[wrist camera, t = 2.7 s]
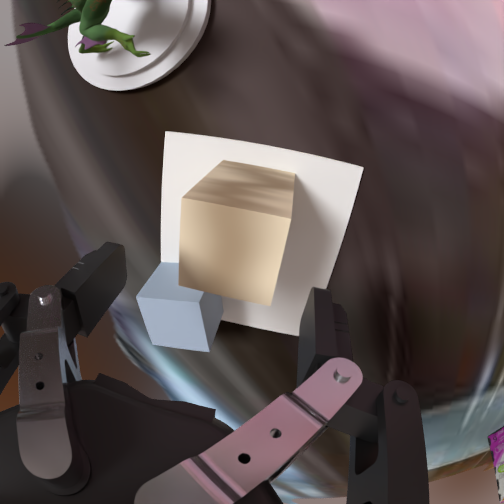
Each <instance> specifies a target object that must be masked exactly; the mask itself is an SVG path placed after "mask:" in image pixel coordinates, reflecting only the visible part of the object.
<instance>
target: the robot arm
mask: <svg viewBox="0 0 504 504" xmlns="http://www.w3.org/2000/svg"><path fill="white" fill-rule="evenodd" d="M126 280H127V270H126V258H125V248H124V246H123V245H120V244H116V243H111V242H106V243H105V244H104V245H103V246H101V247H100V248H99V249H98V250H95V251H93V252H91V253H89V254H87V255H85V256H84V257H83V258H82V259H81V260H80V261H79V263H77V264H76V265H75V266H74V267H73V268H72V269H71V270H69V271H68V272H67V274H65V276H63V277H62V278H61V279H60V280H59V281H58V282H57V284H55V286H52V285H45V286H42V287H39V288H37V289H36V290H34V291H33V292H32V293H31V295H30V294H18V292H17V289H16V286H15V285H14V284H13V283H11V282H3V283H0V326H1V325H2V327H3V330H4V332H5V333H4V335H3V336H2V337H1V338H0V394H1V393H2V391H3V389H4V388H5V386H6V384H7V383H8V381H9V379H10V378H11V376H12V375H13V373H14V371H15V370H16V369H17V367H18V365H19V403H20V404H19V405H16V406H14V407H11V408H9V409H6V410H4V411H2V412H0V504H283V502H282V501H281V499H280V498H279V496H278V495H277V493H276V492H275V490H274V489H273V487H272V486H271V484H270V483H272V482H273V481H274V480H275V479H276V478H277V477H278V476H280V475H281V474H282V473H283V472H284V471H285V470H286V469H287V468H288V467H289V466H290V465H291V464H292V463H293V462H294V461H295V460H296V459H297V458H298V457H299V456H300V455H301V454H302V453H303V452H304V451H305V450H306V449H307V448H308V447H309V446H310V445H311V444H312V443H313V442H314V441H315V440H316V439H317V438H318V437H319V436H320V435H321V434H322V433H323V432H324V431H325V430H326V429H327V428H328V427H331V428H333V429H336V430H338V431H341V432H343V433H346V434H349V435H350V458H349V476H348V491H347V503H346V504H429V484H428V469H427V458H426V448H425V440H424V432H423V425H422V418H421V411H420V405H419V399H418V395H417V393H416V391H415V389H414V388H413V387H412V386H411V385H409V384H408V383H406V382H404V381H400V380H393V381H390V382H389V383H387V384H386V386H385V387H384V386H382V385H379V384H377V383H374V382H371V381H369V380H367V379H365V378H364V377H363V376H362V372H361V370H360V368H359V367H358V366H357V365H356V364H355V363H354V362H353V357H352V349H351V341H350V334H349V327H348V320H347V314H346V312H345V311H344V309H343V308H342V306H341V305H340V304H334V303H332V297H331V291H330V290H327V289H322V288H317V287H312V288H311V290H310V293H309V296H308V299H307V302H306V305H305V308H304V311H303V314H302V317H301V321H300V327H299V350H298V372H297V389H296V390H295V391H293V392H292V393H289V392H286V393H284V394H282V395H281V396H280V397H278V398H277V399H276V400H275V401H273V402H272V403H271V404H270V405H268V406H267V407H266V408H264V409H263V410H262V411H261V412H259V413H258V414H257V415H255V416H254V417H253V418H251V419H250V420H249V421H247V422H246V423H245V424H243V425H242V426H241V427H239V428H238V429H236V430H235V431H234V430H233V429H232V428H231V427H229V426H228V425H227V424H225V423H224V422H222V421H220V420H218V419H216V418H215V410H216V409H212V408H208V407H203V406H199V405H196V404H192V403H188V402H184V401H167V400H156V399H151V398H148V397H147V396H145V395H143V394H142V393H140V392H139V391H137V390H136V389H134V388H132V387H130V386H129V385H128V384H126V383H124V382H122V381H119V380H116V379H114V378H111V377H109V376H106V375H104V374H101V373H99V375H98V376H97V378H96V380H82V379H81V375H80V369H79V363H78V355H77V347H76V341H75V337H76V335H77V334H80V335H82V336H85V337H88V336H89V334H90V333H91V331H92V330H93V329H94V327H95V326H96V324H97V323H98V322H99V320H100V319H101V317H102V316H103V315H104V313H105V312H106V311H107V309H108V308H109V307H110V305H111V304H112V303H113V301H114V300H115V299H116V297H117V296H118V295H119V293H120V292H121V291H122V289H123V288H124V286H125V284H126Z"/></svg>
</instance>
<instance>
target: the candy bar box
mask: <svg viewBox="0 0 504 504" xmlns="http://www.w3.org/2000/svg"><path fill="white" fill-rule="evenodd" d="M488 441H489V445H490V450H491V454H492V459H493V464H494V468H495V474H496V480H497V486H498V493H499V501H500V503H502V502H504V427H503V428H501V429H500V430H498V431H496V432H495V433H493V434H491V435H490V436H488Z"/></svg>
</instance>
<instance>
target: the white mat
mask: <svg viewBox="0 0 504 504" xmlns="http://www.w3.org/2000/svg"><path fill="white" fill-rule="evenodd" d="M223 160H227V161H233V162H239V163H245V164H251V165H256V166H261V167H267V168H272V169H277V170H282V171H287V172H292V173H295V181H294V193H293V205H292V216H291V222H290V227H289V231H288V235H287V240H286V244H285V248H284V253H283V257H282V261H281V265H280V269H279V273H278V278H277V282H276V286H275V290H274V294H273V298H272V302H271V306H266V305H262V304H257V303H252V302H248V301H243V300H238V299H234V298H229V297H225V296H221V297H222V304H223V311H224V312H223V315H222V318H221V320H224V321H228V322H233V323H237V324H242V325H246V326H251V327H256V328H260V329H265V330H270V331H275V332H280V333H285V334H291V335H296V336H299V327H300V321H301V317H302V314H303V311H304V308H305V305H306V302H307V299H308V296H309V293H310V290H311V288H312V287H317V288H322V289H326V287H327V285H328V282H329V279H330V276H331V273H332V270H333V267H334V264H335V261H336V258H337V255H338V252H339V249H340V246H341V243H342V240H343V237H344V234H345V231H346V227H347V224H348V221H349V218H350V214H351V211H352V208H353V204H354V201H355V197H356V194H357V190H358V187H359V183H360V179H361V176H362V172H363V167H361V166H357V165H353V164H349V163H345V162H342V161H338V160H333V159H329V158H325V157H321V156H317V155H312V154H308V153H303V152H298V151H294V150H289V149H284V148H279V147H274V146H268V145H263V144H257V143H251V142H245V141H239V140H233V139H226V138H219V137H212V136H204V135H196V134H188V133H179V132H169V131H166V132H165V144H164V159H163V177H162V203H161V262H171V263H179V240H180V217H181V199H182V197H183V196H184V195H185V194H186V193H187V192H188V191H189V190H190V189H191V188H192V187H194V186H195V185H196V184H197V183H198V182H199V181H200V180H201V179H202V178H203V177H204V176H206V175H207V174H208V173H209V172H210V171H211V170H212V169H213V168H215V167H216V166H217V165H218V164H219V163H220V162H221V161H223Z"/></svg>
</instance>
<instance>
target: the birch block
mask: <svg viewBox="0 0 504 504" xmlns="http://www.w3.org/2000/svg"><path fill="white" fill-rule="evenodd" d="M294 181H295V173H292V172H287V171H282V170H277V169H272V168H267V167H261V166H256V165H251V164H245V163H239V162H233V161H227V160H223V161H221V162H220V163H219V164H218V165H217V166H216V167H215V168H213V169H212V170H211V171H210V172H209V173H208V174H207V175H206V176H204V177H203V178H202V179H201V180H200V181H199V182H198V183H197V184H196V185H195V186H194V187H192V188H191V189H190V190H189V191H188V192H187V193H186V194H185V195H184V196H183V197H182V199H181V217H180V240H179V278H178V286H182V287H187V288H191V289H195V290H199V291H203V292H208V293H212V294H216V295H221V296H225V297H229V298H234V299H238V300H243V301H248V302H252V303H257V304H262V305H266V306H271V302H272V298H273V294H274V290H275V286H276V282H277V278H278V273H279V269H280V265H281V261H282V257H283V253H284V248H285V244H286V240H287V235H288V231H289V227H290V222H291V216H292V205H293V193H294Z"/></svg>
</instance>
